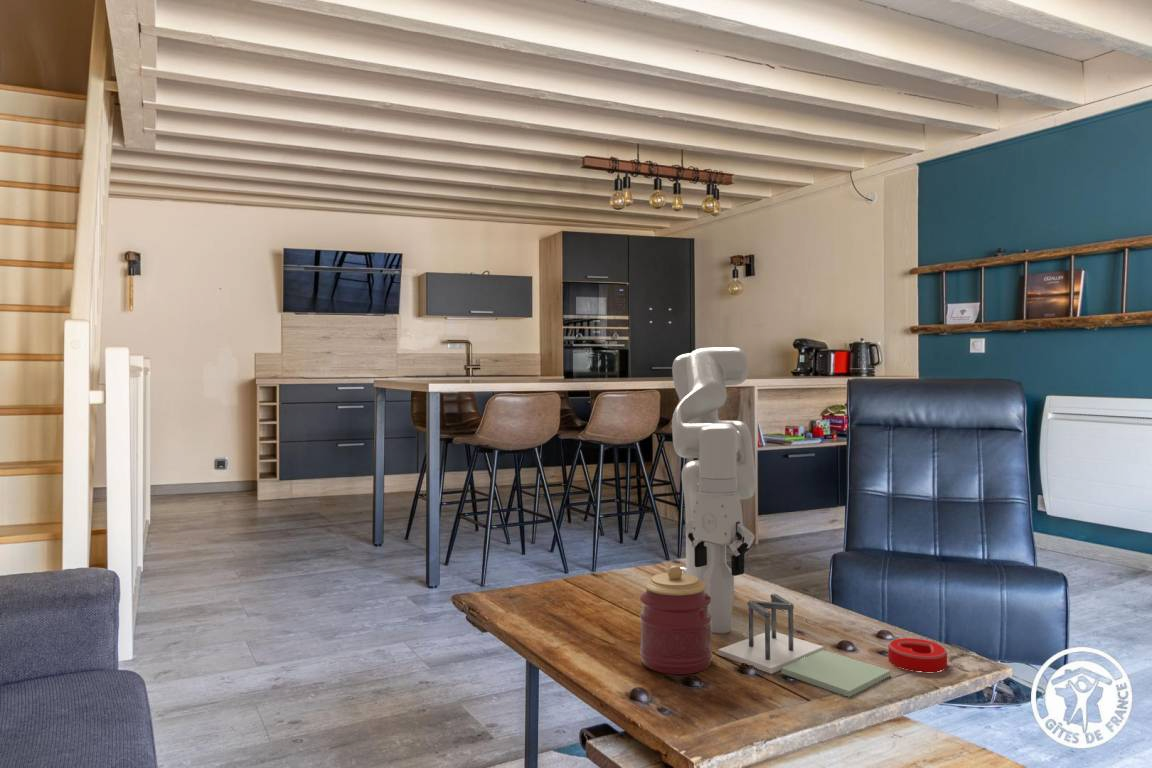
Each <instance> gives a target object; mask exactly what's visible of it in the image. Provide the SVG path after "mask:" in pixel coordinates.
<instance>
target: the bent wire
mask: <svg viewBox="0 0 1152 768" xmlns="http://www.w3.org/2000/svg"><path fill="white" fill-rule="evenodd" d="M747 606H748V638H749V647H754V636H755V634H754V633H755V632H754V620H755V619H754V612H755V613H757V614H758V615H760V616H761V617H762V618H764V633H765V659H766V660H770V630H771V633H772V638H776V632H777V610H781V611H787V620H788V621H787V622H788V623H787V627H788V628H787V629H788V630H787V631H788V634H787V635H788V650H790V651H793V637H794V609H795V605H794V604H793V603H792V602H790V601H788V600H787V599H786V598H783V597H782V596H780V595H779V594H777V593H771V594H770V601H763V600H762V601H761V600H749V601H748V602H747ZM767 609H768V610H767Z"/></svg>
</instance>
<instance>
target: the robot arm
mask: <svg viewBox="0 0 1152 768" xmlns="http://www.w3.org/2000/svg"><path fill="white" fill-rule="evenodd" d="M671 368H672V369H671V370H672V372H671V373H672V380H673V384H674V389H675V392H676V394H677V397H678V399H679V402H678V404H677V405H676V407H675V408H674V409H675V410H674V411H673V414H672V420H671V431H672V444H673V449H674V451H675V454H677V455H678V456H679V457H681V458H683V459H693V460H691V461H688V462H686V463H685V465H684V466H683V467H682V470H681V483H682V491H683V497H684V498H683V499H684V506H685V507H684V509H685V511H684V512H685V524H684V528H685V567H684V566H679V567H680V568H681V570H682V573H686V574H691V575H694V576H696V577H697V578H698V579H699V580H701V581H703V575H704V572H705V571H706V569H707V568H708V566H709V565H710V564H711V562H712V553H711V543H713V544H719V545H725V562H726V563H727V546H728V547H729V549H730V551H732V553H733V555H731V557H730V560H731V561H730V562H731V563H730V564H731V565H730V566H731V568H730V569H731V573H732V575H733V576H734V577H736V576H740V575H744V574H745V555H747V553H748V551H749V550H750V549H751V548H752V545H753V542H754V540H755V537H756V536H755V535H756V534H754V533H753V532H752V531H751V530H750V529H748V528H747V527H746V526H744V519H743V518H744V517H743V508H742V504H741V500H747V499H751V498H752V497H753V496H754V495H755V493H756V489H757V477H756V468H755V467H756V465H755V458H754V451H753V449H754V448H753V442H752V441H753V440H752V436H751V435H752V434H751V431H750V429H749V426H748V425H747V424H746V423H745V422H743V421H741V420H729V419H728V420H727V419H726V420H722V419H719V411H718V409H720V408H722V407H723V406H724V405H725V402H726V401H727V398H728V394H727V392H728V391H727V386H728V387H729V386H738V385H740V384H743V383H744V382H745V381H746V380H747V377H748V375H749V361H748V357H747V355H746V353H745V351H744V350H743V349H741V348H740V347H732V346H731V347H730V346H729V347H727V346H726V347H725V346H724V347H702V348H697V349H694V350H692V351H691V352H688V353H683V354H680V355H678V356H676V357H675V358H674V360H673V362H672V367H671ZM743 538H744V539H743Z"/></svg>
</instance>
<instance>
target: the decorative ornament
mask: <svg viewBox="0 0 1152 768" xmlns="http://www.w3.org/2000/svg"><path fill="white" fill-rule="evenodd" d="M887 647H888V648H887V649H888V653H887V654H888V659H889V660H888V661H890V662H891V663H892V664H894V665H896V666H898V667H901V668H904V669H908V670H913V671H922V672H937V671H940V670H943V669H945V668H946V667H947V668H948V651H947V650H946V647H944V646H942V645H940V644H938V643H936V642H934V641H931V640H926V639H922V638H913V637H911V638H910V637H909V638H908V637H904V638H902V637H901V638H897V639H893V640H891V641H890V642H889V643H888V646H887ZM890 662H889V663H890ZM891 663H890V664H891ZM892 664H891V665H892ZM894 665H893V666H894ZM896 666H895V667H896ZM898 667H897V668H898ZM901 668H900V669H901ZM904 669H903V670H904Z"/></svg>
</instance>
